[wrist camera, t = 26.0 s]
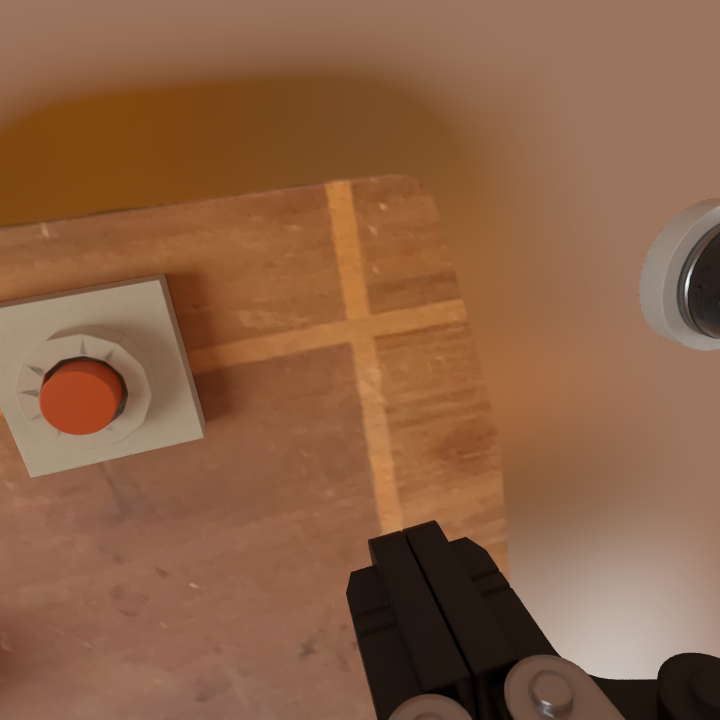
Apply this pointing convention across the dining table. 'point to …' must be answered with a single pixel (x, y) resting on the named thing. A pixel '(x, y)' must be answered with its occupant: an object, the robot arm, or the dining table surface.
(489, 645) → the robot arm
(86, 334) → the control block
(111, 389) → the button
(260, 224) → the dining table surface
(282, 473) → the dining table surface
